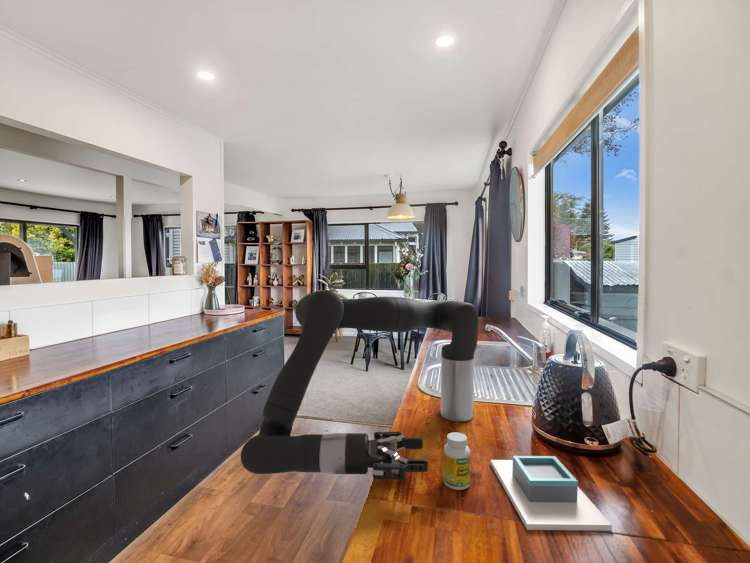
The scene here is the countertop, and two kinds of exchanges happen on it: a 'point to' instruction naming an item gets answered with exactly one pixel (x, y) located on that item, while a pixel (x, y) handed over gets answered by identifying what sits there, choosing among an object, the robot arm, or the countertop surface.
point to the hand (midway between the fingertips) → (424, 453)
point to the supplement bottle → (456, 462)
